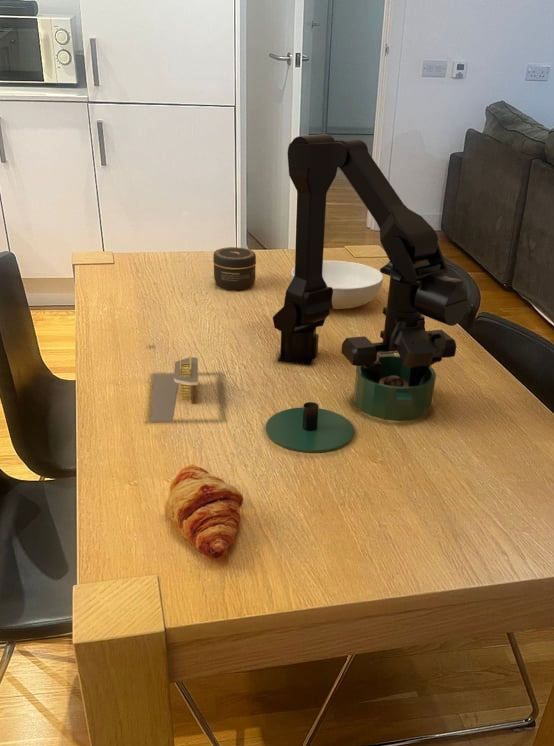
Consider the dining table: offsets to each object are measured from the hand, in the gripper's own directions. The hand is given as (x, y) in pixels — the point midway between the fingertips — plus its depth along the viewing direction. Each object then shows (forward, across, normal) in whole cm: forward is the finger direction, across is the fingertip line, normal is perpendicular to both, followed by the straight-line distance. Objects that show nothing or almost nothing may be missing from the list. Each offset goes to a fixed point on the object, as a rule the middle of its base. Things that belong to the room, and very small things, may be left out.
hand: (393, 393), depth 131 cm
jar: (+2, -11, +67) cm, 68 cm away
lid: (+2, -17, -6) cm, 19 cm away
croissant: (+2, -39, -25) cm, 46 cm away
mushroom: (+2, 0, 0) cm, 2 cm away
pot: (+2, 0, 0) cm, 2 cm away
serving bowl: (+2, +8, +51) cm, 51 cm away
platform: (+2, -34, +12) cm, 36 cm away
